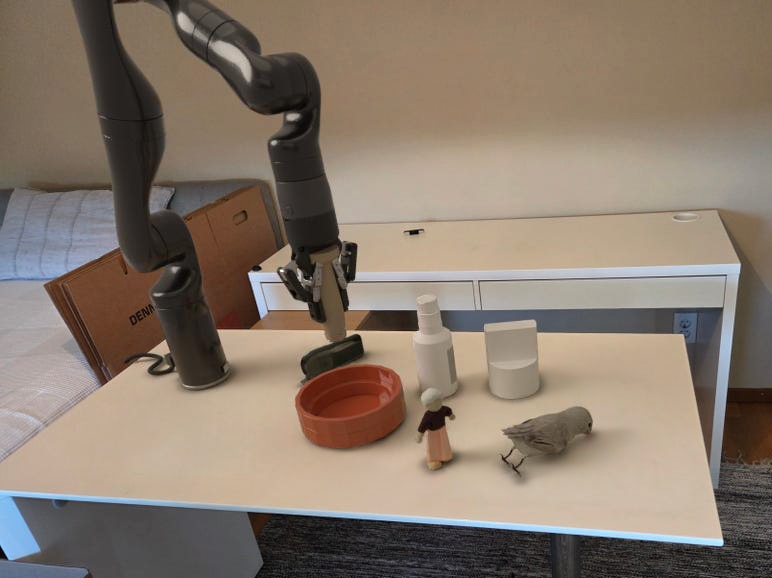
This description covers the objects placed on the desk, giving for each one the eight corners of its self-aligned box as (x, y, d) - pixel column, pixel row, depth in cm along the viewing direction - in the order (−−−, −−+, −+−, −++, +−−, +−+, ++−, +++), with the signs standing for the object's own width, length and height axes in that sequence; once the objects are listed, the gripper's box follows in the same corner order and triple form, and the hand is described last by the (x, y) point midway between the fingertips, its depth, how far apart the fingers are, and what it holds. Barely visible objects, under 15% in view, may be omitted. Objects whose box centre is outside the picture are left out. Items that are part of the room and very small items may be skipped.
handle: (346, 347, 98) (326, 255, 91) (311, 343, 100) (289, 253, 93) (361, 333, 102) (343, 244, 95) (327, 330, 104) (307, 242, 97)
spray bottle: (466, 386, 115) (455, 295, 106) (438, 403, 111) (425, 310, 102) (440, 375, 119) (427, 287, 110) (413, 391, 115) (398, 301, 106)
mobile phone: (355, 330, 129) (290, 358, 120) (364, 334, 127) (298, 362, 118) (359, 352, 131) (295, 381, 122) (367, 356, 129) (304, 386, 120)
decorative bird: (602, 441, 97) (602, 400, 94) (516, 483, 91) (512, 441, 87) (579, 425, 101) (578, 385, 98) (495, 464, 95) (491, 423, 91)
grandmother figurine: (437, 477, 93) (426, 405, 87) (417, 470, 95) (404, 399, 89) (466, 448, 99) (457, 378, 93) (446, 442, 101) (436, 373, 95)
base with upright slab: (536, 370, 118) (533, 312, 112) (542, 396, 110) (539, 335, 104) (488, 375, 118) (482, 316, 112) (490, 401, 110) (484, 340, 104)
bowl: (282, 430, 108) (273, 400, 105) (359, 383, 120) (353, 355, 117) (350, 465, 98) (342, 433, 95) (427, 410, 109) (423, 380, 106)
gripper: (329, 192, 98) (350, 295, 106) (249, 218, 88) (279, 329, 97) (361, 197, 93) (381, 304, 102) (282, 225, 84) (310, 340, 92)
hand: (331, 315), depth 99 cm, fingers closed on handle, 4 cm apart
